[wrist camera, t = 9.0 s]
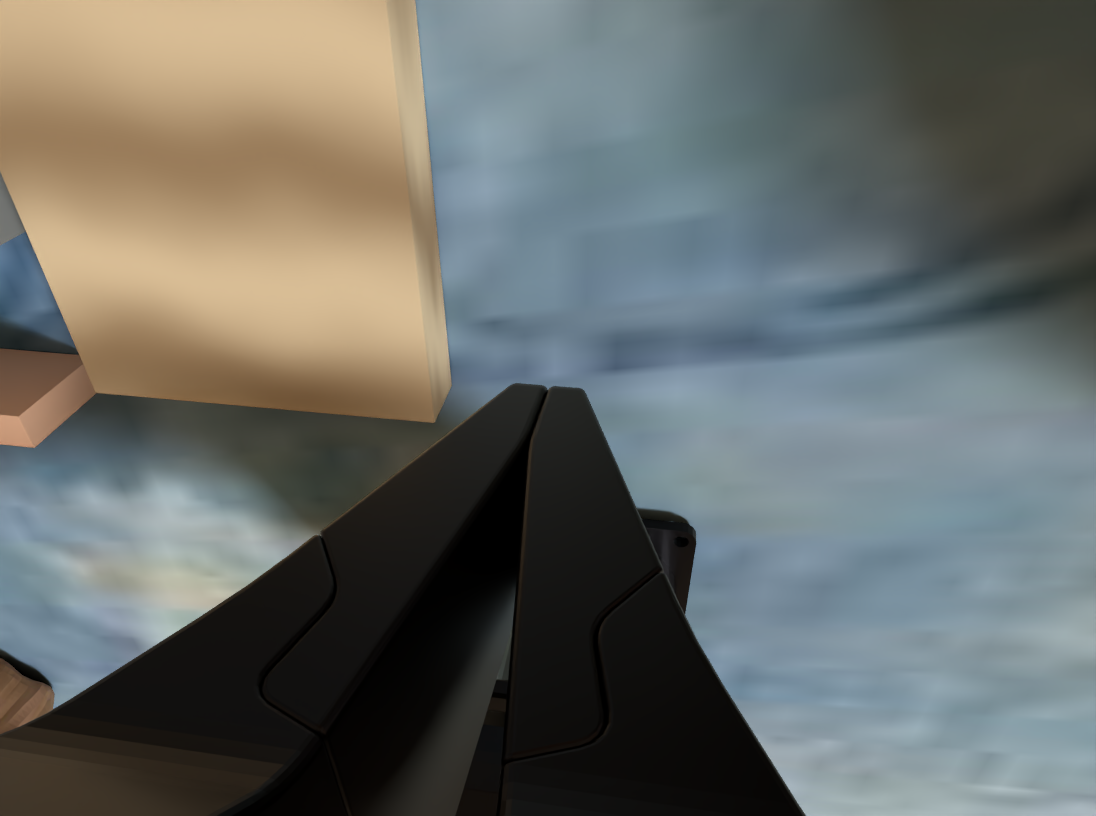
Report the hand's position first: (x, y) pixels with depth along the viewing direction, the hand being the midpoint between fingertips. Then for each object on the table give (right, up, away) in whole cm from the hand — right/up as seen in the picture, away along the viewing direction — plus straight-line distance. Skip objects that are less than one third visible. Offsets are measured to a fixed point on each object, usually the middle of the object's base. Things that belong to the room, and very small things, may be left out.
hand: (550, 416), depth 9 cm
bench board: (-9, +7, +11) cm, 16 cm away
